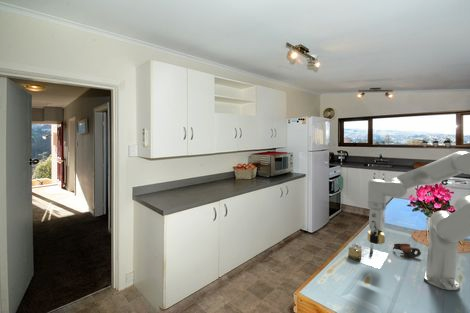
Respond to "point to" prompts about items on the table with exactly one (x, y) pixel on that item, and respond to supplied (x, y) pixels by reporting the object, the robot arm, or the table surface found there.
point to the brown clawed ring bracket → (407, 250)
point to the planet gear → (380, 237)
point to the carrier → (367, 255)
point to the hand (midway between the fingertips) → (375, 240)
